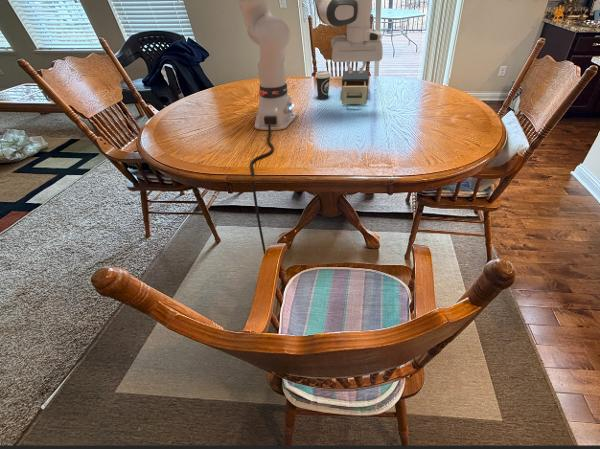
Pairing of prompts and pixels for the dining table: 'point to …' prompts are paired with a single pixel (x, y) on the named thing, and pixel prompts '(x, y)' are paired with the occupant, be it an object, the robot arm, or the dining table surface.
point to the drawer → (354, 92)
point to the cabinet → (355, 77)
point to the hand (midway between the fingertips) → (355, 73)
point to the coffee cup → (322, 84)
